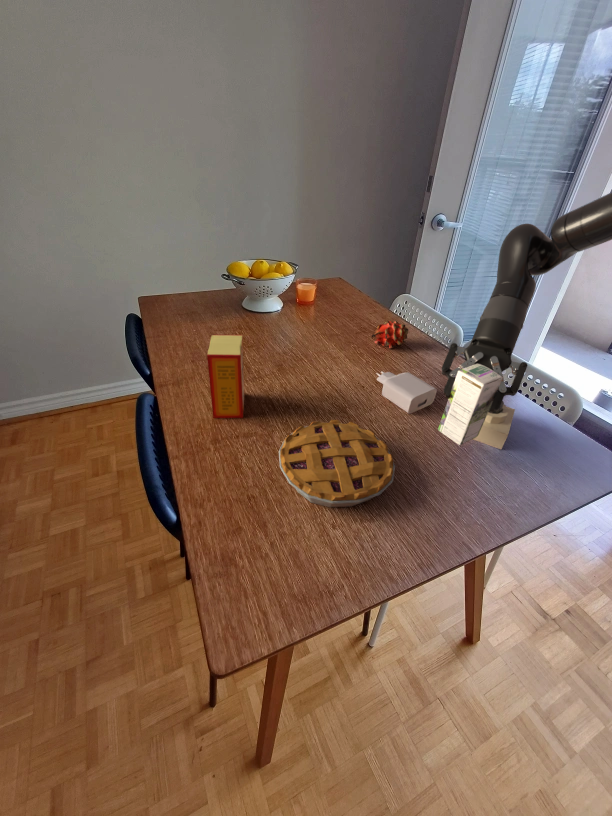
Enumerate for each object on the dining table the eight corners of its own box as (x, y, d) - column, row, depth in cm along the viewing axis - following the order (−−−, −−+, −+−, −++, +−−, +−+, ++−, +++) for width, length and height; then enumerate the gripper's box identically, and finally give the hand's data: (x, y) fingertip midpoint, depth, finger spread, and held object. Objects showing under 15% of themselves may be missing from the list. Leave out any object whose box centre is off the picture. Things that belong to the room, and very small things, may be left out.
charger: (389, 375, 107) (433, 403, 98) (364, 385, 103) (407, 415, 93) (393, 360, 104) (438, 387, 95) (367, 369, 100) (411, 398, 90)
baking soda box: (217, 394, 95) (211, 332, 86) (244, 394, 96) (242, 333, 87) (213, 418, 88) (206, 353, 78) (243, 417, 88) (240, 354, 79)
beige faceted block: (508, 423, 93) (518, 402, 89) (501, 449, 85) (511, 428, 81) (465, 409, 96) (472, 388, 93) (454, 432, 89) (462, 411, 85)
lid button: (502, 407, 88) (505, 399, 87) (499, 416, 85) (502, 409, 84) (481, 400, 90) (484, 392, 89) (478, 409, 87) (480, 402, 85)
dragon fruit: (407, 350, 124) (371, 357, 122) (399, 326, 126) (363, 333, 124) (417, 337, 116) (378, 345, 114) (408, 312, 118) (369, 319, 116)
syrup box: (455, 421, 83) (476, 361, 75) (479, 437, 79) (504, 375, 71) (437, 430, 80) (456, 368, 72) (460, 447, 77) (484, 384, 68)
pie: (267, 441, 82) (267, 422, 79) (364, 428, 88) (368, 409, 85) (294, 526, 66) (295, 506, 63) (412, 503, 71) (418, 483, 68)
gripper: (536, 344, 76) (505, 422, 75) (460, 324, 82) (431, 397, 80) (545, 328, 69) (512, 413, 68) (462, 308, 75) (430, 387, 73)
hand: (468, 404), depth 74 cm, fingers closed on syrup box, 7 cm apart
